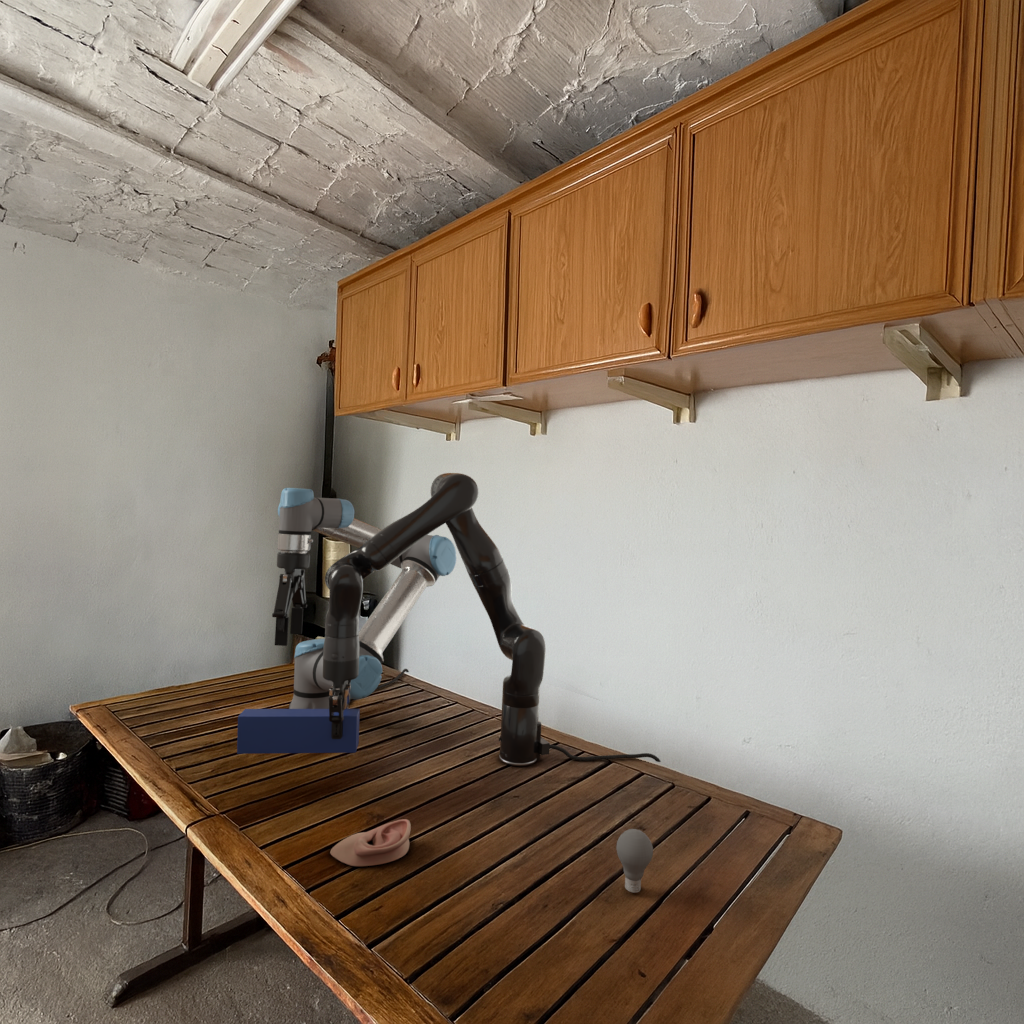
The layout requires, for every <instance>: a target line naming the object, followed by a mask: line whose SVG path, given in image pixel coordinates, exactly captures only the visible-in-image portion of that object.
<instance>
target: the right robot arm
mask: <svg viewBox="0 0 1024 1024" xmlns="http://www.w3.org/2000/svg"><path fill="white" fill-rule="evenodd" d="M430 496H431V497H430V498H429V499H428V500H427V501H425V502H424V503H423V504H422V505H420V506H419V507H418V508H416V509H414V510H413V511H412V512H410V513H407V514H406V515H404V516H403V517H401V518H399V519H397V520H395V521H393V522H392V523H389V524H388V525H386V526H385V527H383V528H382V529H381V531H380V532H378V533H377V534H376V535H374V536H373V537H372V538H371V539H369V540H368V541H367V542H365V543H364V544H363V545H362V546H361V547H359V548H358V547H357V548H356V549H354V550H353V551H351V552H349V553H348V554H346V555H344V556H343V557H341V558H340V559H338V560H337V561H335V562H334V563H333V564H331V565H330V567H328V569H327V570H326V572H325V576H324V583H325V585H326V587H327V589H328V590H329V593H328V594H329V596H328V597H329V598H328V600H329V601H328V610H327V611H326V615H325V626H324V637H325V640H324V648H323V678H324V679H326V680H328V681H329V680H330V681H332V682H333V684H332V688H330V692H329V695H330V696H329V721H330V722H332V732H331V738H332V739H341V738H342V734H343V720H344V710H346V709H349V707H350V703H351V700H350V690H351V684H350V682H351V680H353V679H355V678H357V677H358V675H359V631H360V609H361V605H362V598H363V591H364V580H365V579H366V578H367V577H369V576H370V575H372V574H373V573H376V572H380V571H382V570H384V569H385V568H386V567H388V566H389V565H391V564H390V563H392V562H393V561H394V560H395V559H397V558H398V557H399V556H400V555H401V554H403V553H404V552H405V551H406V550H408V549H409V548H410V547H412V546H413V545H414V544H415V543H417V542H418V541H419V540H421V539H422V538H423V537H425V536H426V535H430V533H432V532H434V531H435V530H437V529H438V528H440V527H441V526H443V525H446V527H447V529H448V530H449V533H450V534H451V536H452V538H453V541H454V543H455V547H456V549H457V551H458V554H459V556H460V558H461V560H462V562H463V565H464V567H465V569H466V572H467V574H468V577H469V579H470V581H471V584H472V585H473V587H474V589H475V591H476V594H477V595H478V597H479V599H480V602H481V604H482V606H483V608H484V610H485V612H486V614H487V616H488V618H489V620H490V624H491V627H492V629H493V632H494V635H495V638H496V642H497V644H498V647H499V649H500V652H502V654H503V655H504V657H505V658H507V659H509V660H511V664H512V665H511V670H510V671H511V672H510V674H509V675H507V676H505V677H504V678H503V680H502V692H501V693H502V694H501V695H502V696H501V718H500V720H501V721H500V736H499V737H498V742H499V754H498V755H499V756H498V759H499V761H500V762H502V763H503V764H505V765H508V766H511V767H527V766H528V767H529V766H531V765H534V764H536V762H539V761H541V756H546V755H550V749H552V750H555V751H558V752H561V753H562V754H564V755H565V756H566V757H567V758H568V759H570V760H573V761H578V762H591V761H601V760H604V761H605V760H620V759H643V758H650V759H652V760H654V761H655V762H657V763H661V762H662V761H661V759H660V758H659V757H657V756H656V755H655V754H653V753H648V752H644V753H643V752H641V753H636V754H635V753H629V754H628V753H626V754H625V753H624V754H611V755H610V754H607V755H592V756H577V755H573V754H571V753H570V752H568V751H567V750H566V749H565V748H563V747H561V746H559V745H555V744H551V743H550V742H549V741H548V740H546V739H545V738H544V737H542V722H541V721H540V720H539V717H540V716H539V714H540V713H539V712H540V711H539V710H540V690H541V685H542V682H543V680H544V675H545V666H546V656H547V655H546V653H547V643H546V640H545V637H544V635H543V633H542V632H541V631H540V630H538V629H536V628H533V627H530V626H527V625H526V624H525V623H524V621H523V620H522V619H521V617H520V614H519V613H518V611H517V608H516V606H515V604H514V601H513V585H512V577H511V574H510V571H509V568H508V566H507V564H506V561H505V559H504V557H503V555H502V553H501V551H500V549H499V548H498V547H497V545H496V543H495V542H494V541H493V539H492V538H491V536H489V534H488V533H487V531H485V529H484V528H483V526H482V525H481V524H480V522H479V520H478V518H477V516H476V514H475V512H474V509H473V507H474V506H475V504H476V503H477V501H478V497H479V487H478V483H477V482H476V480H474V478H472V477H471V476H469V475H468V474H464V473H459V472H445V473H442V474H439V475H438V476H436V477H435V478H434V480H433V481H432V483H431V486H430ZM349 701H350V702H349ZM334 712H338V713H339V716H334Z"/></svg>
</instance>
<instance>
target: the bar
mask: <svg viewBox="0 0 1024 1024" xmlns="http://www.w3.org/2000/svg"><path fill="white" fill-rule="evenodd" d="M360 711H361V709H360V708H348V709H346V710H344V720H343V734H342V738H341V739H332V738H331V732H332V722H330V721H329V709H289V708H244V710H243V711H242V712H240V714H239V715H238V716H237V735H236V739H237V741H236V754H238V755H242V754H243V755H245V754H246V755H248V754H249V755H252V754H257V755H258V754H262V755H263V754H355V753H357V749H358V747H359V745H360V717H361V716H360V715H361V714H360V713H361V712H360ZM334 716H339V713H338V712H334Z"/></svg>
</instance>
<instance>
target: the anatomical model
mask: <svg viewBox="0 0 1024 1024" xmlns="http://www.w3.org/2000/svg"><path fill="white" fill-rule="evenodd" d="M411 825H412V824H411V822H410V820H409V819H406V818H404V819H403V818H402V819H396V820H394V821H391V822H387V823H385V824H382V825H380V826H377V827H375V828H373V829H370V830H367V831H363V832H358V833H354V834H352V835H349V836H348V837H345V838H344V839H342V840H341V841H339V842H338V843H336V844H335V845H334V846H332V848H331V849H330V850H329V851H330V852H329V854H330V855H331V856H332V857H333V858H334V859H335V860H337V861H339V862H341V863H342V864H344V865H345V864H346V865H347V866H351V867H368V866H369V867H370V866H377V865H383V864H387V863H391V862H394V861H397V860H399V859H400V858H402V857H404V856H405V855H406V854H407V853H408V852H409V849H410V839H409V837H410V834H411V830H412V829H411V828H412V826H411Z"/></svg>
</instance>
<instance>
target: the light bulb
mask: <svg viewBox="0 0 1024 1024" xmlns="http://www.w3.org/2000/svg"><path fill="white" fill-rule="evenodd" d="M615 849H616V854H617V857H618V859H619V861H620V863H621V865H622V867H623V873H624V874H623V875H624V876H625V878H624V888H625V890H627V891H628V892H630V893H634V894H635V893H639V892H640V891H641V889H642V887H641V886H642V879H643V877H644V875H645V871H646V868H647V867H648V866H649V864H650V863H651V861H652V859H653V855H654V847H653V843H652V841H651V838H649V836H648V835H647V834H646V833H645V832H643V831H642V830H641V829H636V828H629V829H627V830H625V831H623V832H622V833H621V834H620V835H619V837H618V839H617V841H616V847H615Z"/></svg>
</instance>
